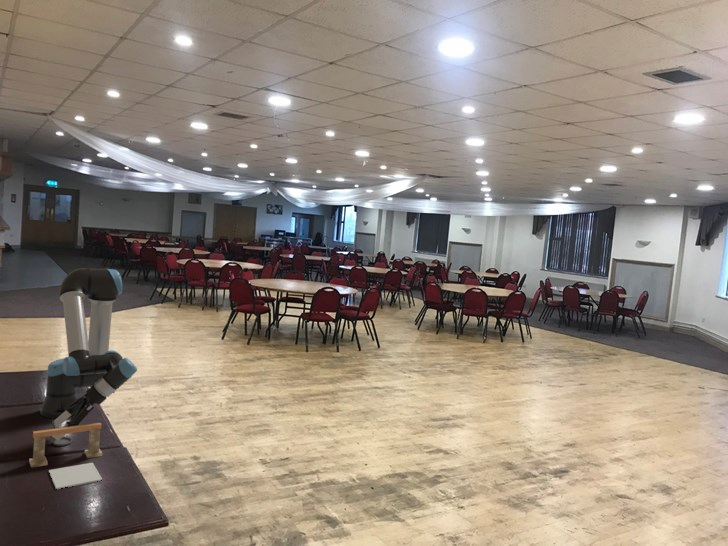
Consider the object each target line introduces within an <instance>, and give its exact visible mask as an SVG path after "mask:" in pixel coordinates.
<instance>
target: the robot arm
mask: <svg viewBox="0 0 728 546" xmlns="http://www.w3.org/2000/svg"><path fill="white" fill-rule="evenodd" d="M122 293H123V280H122V276H121V274H120V272H119V271H118V270H117V269H112V268H111V269H110V268H86V267H85V268H84V267H82V268H81V267H80V268H76V269H74V270H72V271H71V272H69V273H68V274H66V275H65V277H64V278H63V279H62V282H61V285H60V286H59V293H58V294H59V301H60V302H62V304H63V314H64V323H65V334H66V344H67V345H66V346H67V352H68V356H66V357H64V358H59V359H56V360H53V361H51V362H50V363H48V365H47V372H46V388H45V389H46V390H45V397H44V400H43V402H42V406H41V407H40V409H39V410H40V411H39V412H40V415H41V416H42V417H44V418H48V419H53V421H54V423H55V424H54V426H55V427H57V428H60V426H61V425H62V424H63V423H64V422H65V421H66V423H65V424H64V425H63V426H62V427H61V428H64V427H71V426H79V425H81V424H80V423H82V421H83V420H84V419H85V418H86V417H87V415H89V413H90V412H91V411H92V410H94V404H97V405H101V404H103V403H104V402H105V400H107V397H110V396H111V395H112V394H115V393H116V391H117V390H118V389H119V388H120V387H122V386H123V385H124V384H125V383H126V382H128V381H129V379H131V378H132V377H133V376H134V374H135V373H137V372H138V371H137V370H138V367H137V366H136V365H135V364H134V363H133V362H132V361H131V360H130V359H129V358H128V357H124V358H123V356H122V355H121V354H120V353H119V352H118V351H117V350H113V349H111V350H110V338H111V337H110V336H111V325H112V312H113V303H115V302H116V301H117V298H118V296H120V295H122ZM86 296H87V299H88V300H89V301H90V302H91V303H90V304H91V305H90V314H89V315H90V316H89V325H88V326H89V328H88V329H87V323H86V321H87V320H86V313H85V312H86V311H85V305H84V300H85V298H86ZM83 388H88V389H87V390H86V392H85V394H84V395H83V396H81V397H80V398H78V397H77V389H83ZM70 417H71V418H70ZM69 418H70V421H67V420H68V419H69ZM53 421H52V423H53ZM65 435H66V434H61V435H54V436H52V437H54V438H55V439H56V440H57V441H58V440H60V439H61V438H62V437H64V436H65Z"/></svg>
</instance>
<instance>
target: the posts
mask: <svg viewBox="0 0 728 546" xmlns="http://www.w3.org/2000/svg"><path fill="white" fill-rule="evenodd" d="M88 432H89V434H88V449H84V455H85V457H86V458H87V459H92V458H98V457H103V452H102V450H101V449H100V441H101V440H100V439H101V429H97V430H90V431H88ZM45 450H46V437H40V438H33V453H32V458H29V459H28V460H29V461H28V463H29V465H30V468H32V469H33V468H39V467H43V466H48V465H49V464H48V460H47V457H46V456H45Z"/></svg>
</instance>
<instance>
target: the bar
mask: <svg viewBox="0 0 728 546" xmlns="http://www.w3.org/2000/svg"><path fill="white" fill-rule="evenodd" d="M102 425H103V424H102V423H101V422H95V423H88V424H79V425H78V426H71V427H64V428H62V427H57V428H56V427H55V429H50V428H49V429H43V430H33V431H32V438H33V439H34V438H40V437H45V438H46V437H50V436H54V435H61V434H65V435H67V434H74V433H81V432H87V431H88V432H89V431H90V430H97V429H100V430H101V429H102Z"/></svg>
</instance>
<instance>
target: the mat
mask: <svg viewBox="0 0 728 546" xmlns="http://www.w3.org/2000/svg"><path fill="white" fill-rule="evenodd" d="M49 473H50V474H49ZM48 474H49V475H50V478H52V479H51V481H52V483H53V486H54V488H55V490H56V489H57V490H62V489H61V488H63V489H66V488H65V487H68V488H71V487H72V486H73V487H78V486H82V485H88V484H93V483H98V482H102V481H103V477H102V476H101V474H100V473H99V471H98V469H97V467H96V466H95V463H94V462H89V463H88V462H87V463H82V464H78V465H77V464H76V465H72V466H71V465H70V466H65V467H59V468H53V469H49V470H48ZM101 480H102V481H101ZM97 481H98V482H97ZM73 487H72V488H73Z"/></svg>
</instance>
